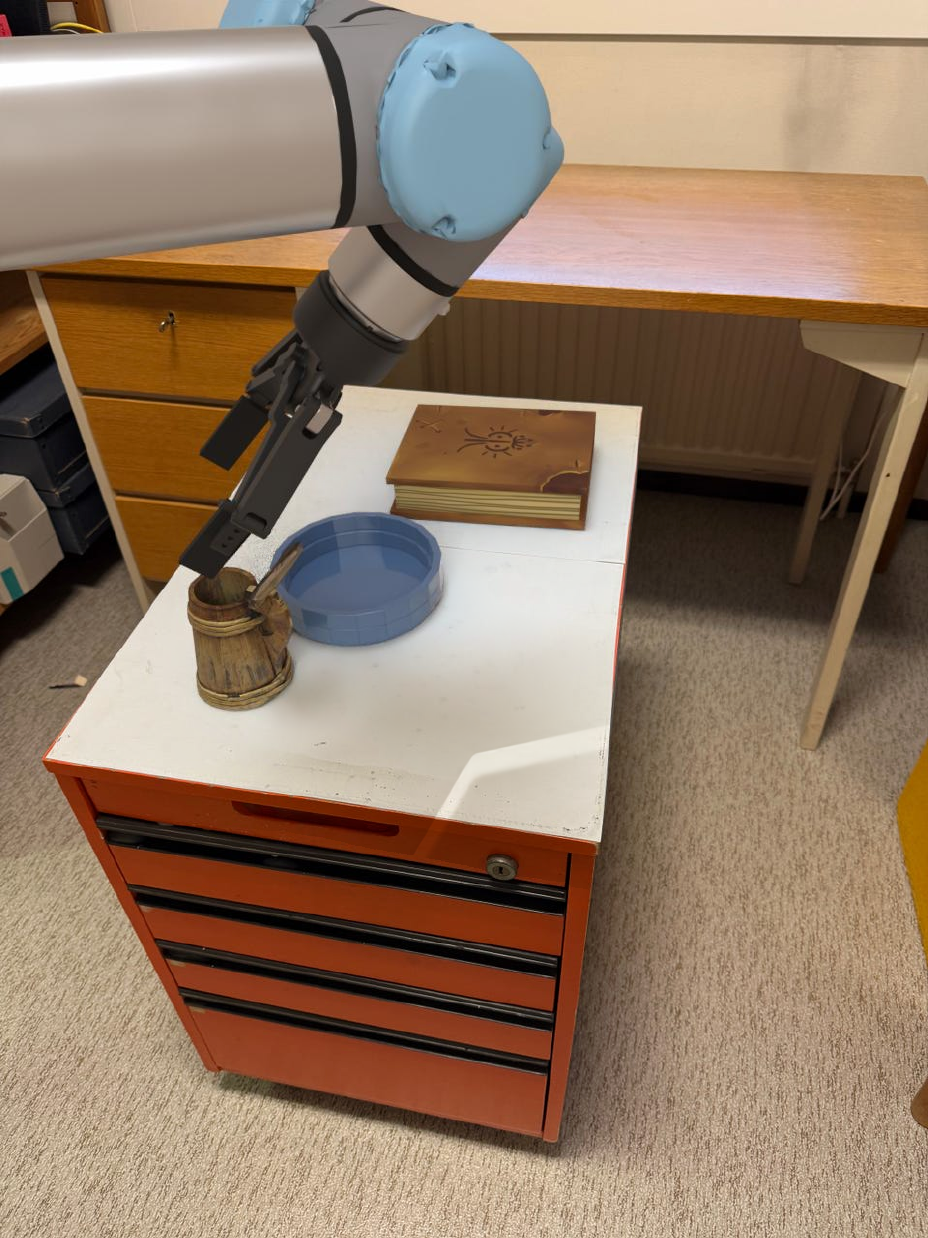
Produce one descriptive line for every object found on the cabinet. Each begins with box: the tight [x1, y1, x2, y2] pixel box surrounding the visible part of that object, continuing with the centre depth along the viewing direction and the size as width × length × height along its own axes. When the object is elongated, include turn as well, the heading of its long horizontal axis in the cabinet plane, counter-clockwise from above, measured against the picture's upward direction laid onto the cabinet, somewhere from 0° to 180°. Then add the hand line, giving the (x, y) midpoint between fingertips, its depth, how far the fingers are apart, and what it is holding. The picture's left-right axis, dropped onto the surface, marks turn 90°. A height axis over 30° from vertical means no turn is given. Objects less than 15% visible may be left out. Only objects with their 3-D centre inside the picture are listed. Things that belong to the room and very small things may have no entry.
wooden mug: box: [186, 541, 303, 711], centre depth 78 cm, size 9×14×18 cm, turn 65°
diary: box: [385, 403, 597, 531], centre depth 108 cm, size 23×19×6 cm
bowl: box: [268, 511, 444, 647], centre depth 93 cm, size 18×18×4 cm
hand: (205, 511), depth 69 cm, fingers open, 13 cm apart
